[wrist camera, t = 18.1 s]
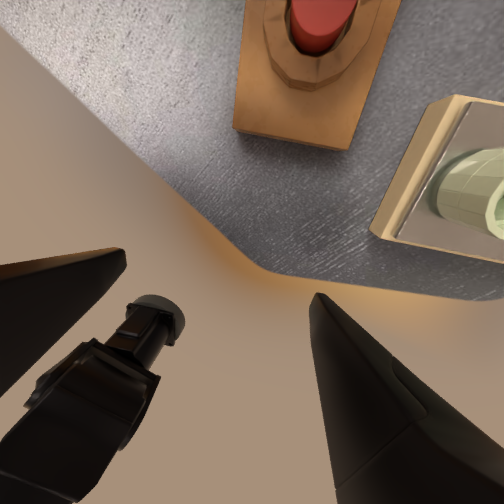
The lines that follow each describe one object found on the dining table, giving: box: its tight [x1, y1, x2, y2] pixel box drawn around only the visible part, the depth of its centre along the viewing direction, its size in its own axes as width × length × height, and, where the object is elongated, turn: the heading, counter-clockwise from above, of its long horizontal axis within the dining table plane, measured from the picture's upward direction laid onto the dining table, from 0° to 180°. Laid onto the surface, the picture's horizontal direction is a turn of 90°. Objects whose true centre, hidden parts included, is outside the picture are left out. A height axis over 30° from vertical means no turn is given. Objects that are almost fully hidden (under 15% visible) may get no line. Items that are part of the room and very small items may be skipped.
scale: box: [369, 94, 504, 264], centre depth 15 cm, size 10×15×2 cm
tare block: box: [232, 0, 401, 151], centre depth 12 cm, size 12×9×4 cm
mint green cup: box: [437, 146, 504, 240], centre depth 11 cm, size 5×5×4 cm
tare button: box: [290, 0, 357, 53], centre depth 10 cm, size 3×3×2 cm
